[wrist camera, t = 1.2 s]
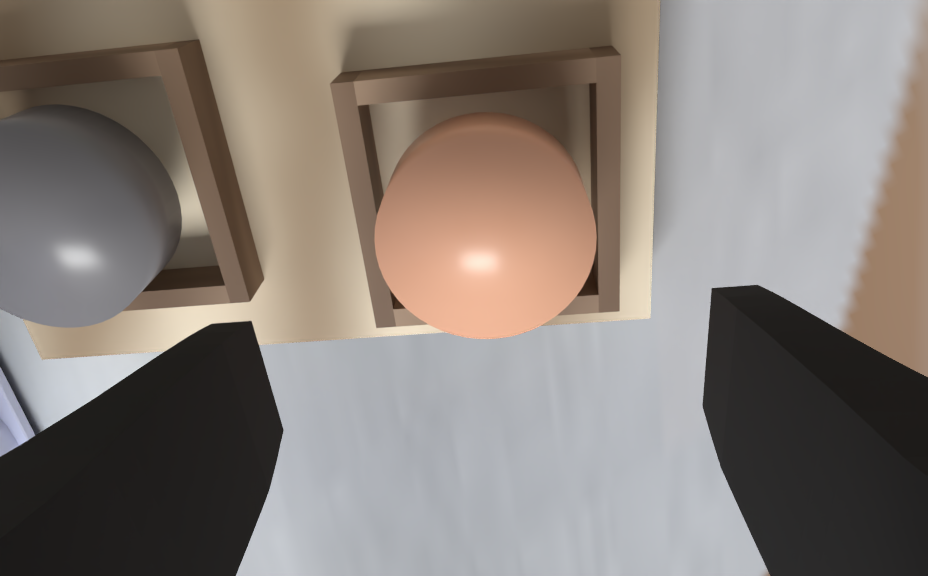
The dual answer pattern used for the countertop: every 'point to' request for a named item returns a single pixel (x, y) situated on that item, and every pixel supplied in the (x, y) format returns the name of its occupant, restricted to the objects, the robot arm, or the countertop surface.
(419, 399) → the countertop surface
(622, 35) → the button panel
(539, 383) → the countertop surface
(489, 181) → the terracotta button
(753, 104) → the countertop surface
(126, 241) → the charcoal button
